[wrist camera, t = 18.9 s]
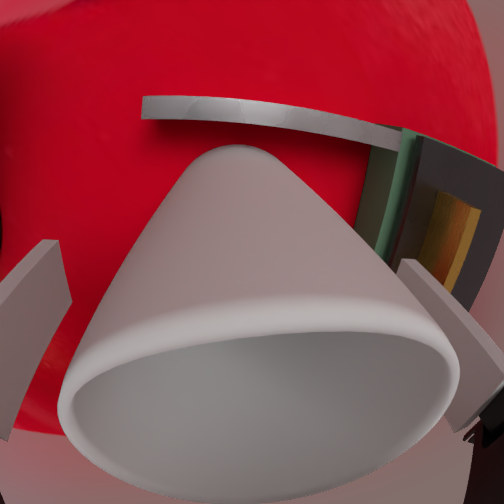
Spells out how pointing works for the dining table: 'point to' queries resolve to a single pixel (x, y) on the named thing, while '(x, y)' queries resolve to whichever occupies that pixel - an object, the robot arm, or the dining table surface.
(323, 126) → the bracket
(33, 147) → the dining table surface
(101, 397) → the cup
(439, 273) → the cover
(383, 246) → the green rectangular box
